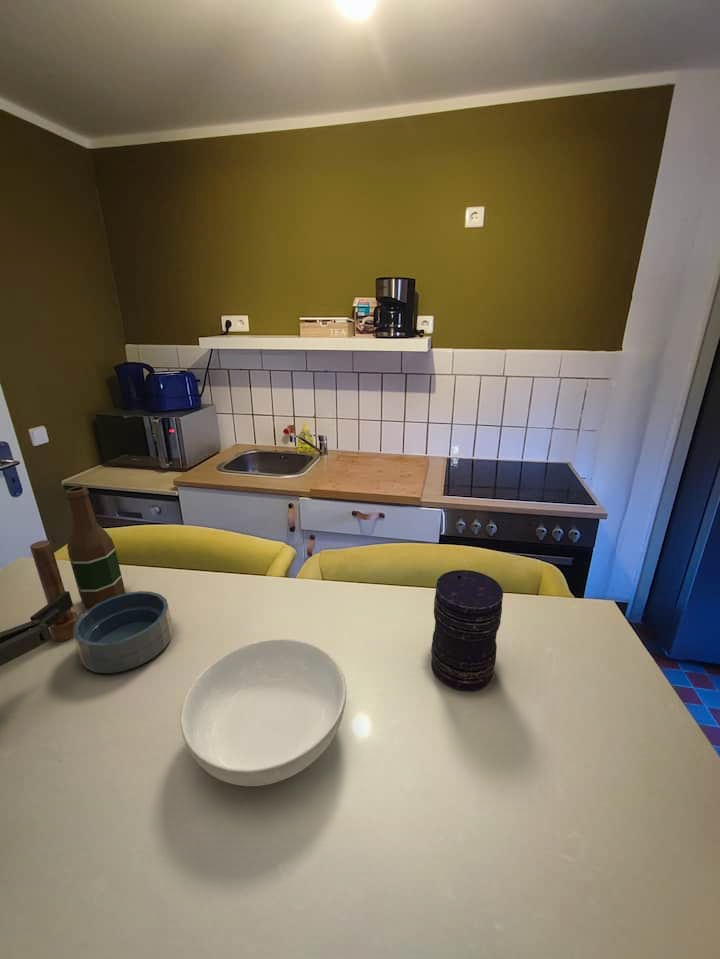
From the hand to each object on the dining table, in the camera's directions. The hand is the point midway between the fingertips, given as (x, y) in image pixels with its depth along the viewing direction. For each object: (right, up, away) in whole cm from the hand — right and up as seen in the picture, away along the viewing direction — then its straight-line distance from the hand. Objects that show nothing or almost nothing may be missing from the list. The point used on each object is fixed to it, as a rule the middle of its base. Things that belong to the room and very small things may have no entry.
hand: (31, 595), depth 69 cm
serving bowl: (+41, -15, -11) cm, 45 cm away
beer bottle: (+2, -6, +17) cm, 18 cm away
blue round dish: (+13, -10, +5) cm, 17 cm away
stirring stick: (+1, -9, +8) cm, 12 cm away
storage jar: (+69, -11, -1) cm, 70 cm away
